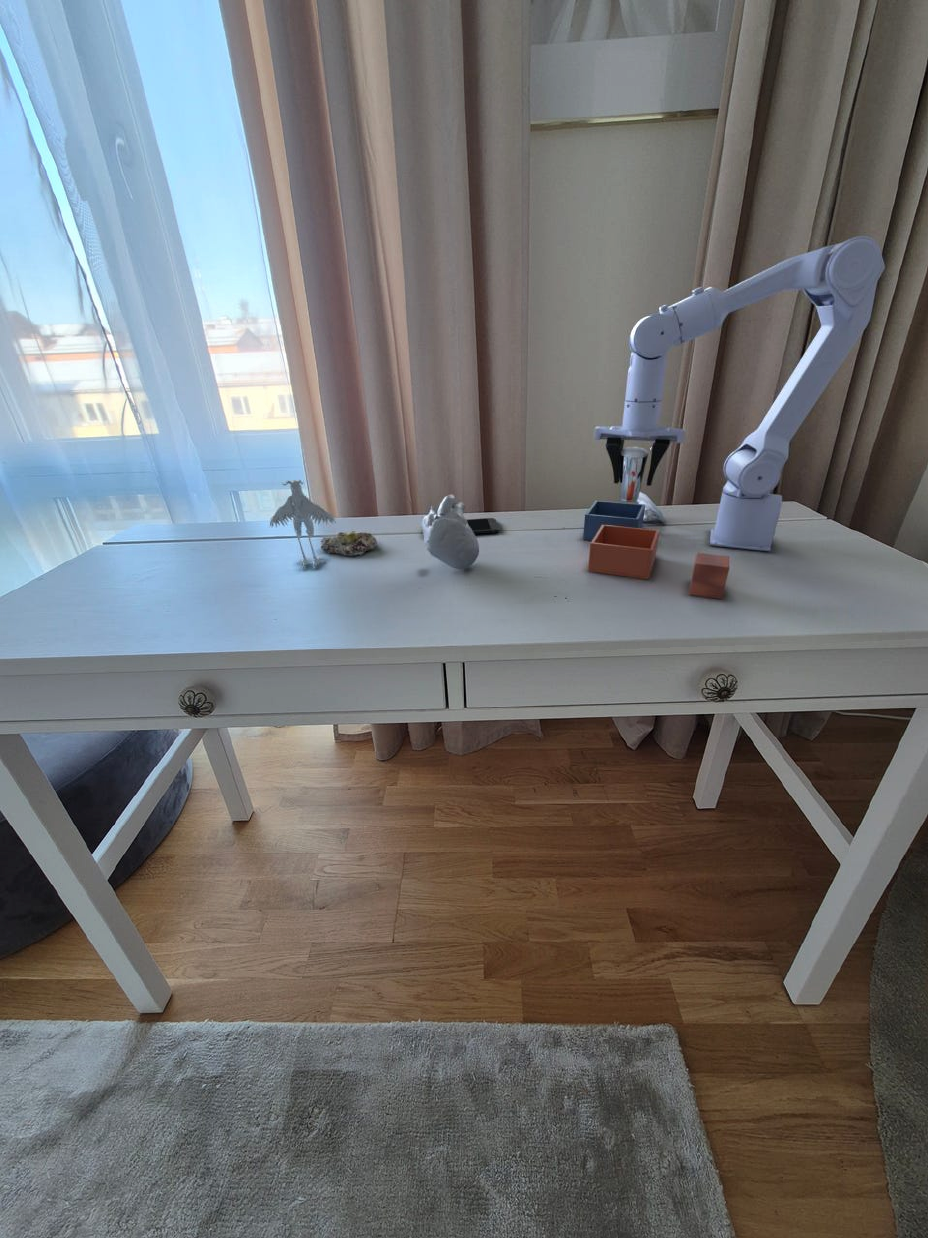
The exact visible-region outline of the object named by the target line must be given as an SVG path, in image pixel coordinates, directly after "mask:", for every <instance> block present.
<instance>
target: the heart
mask: <svg viewBox="0 0 928 1238" xmlns="http://www.w3.org/2000/svg"><path fill="white" fill-rule="evenodd" d="M465 508H466V505H465V504H464V502H463V501H459V502H457V500H456V497H455V495H454V494H453V493H451V494H448V495H447V496H444V498H443V500H442V501H441V502H440V504H439V506H438V507H435V506H432V505H431V506H430V511H429V513H428V514H427V515H425V516H424V517H423V519H422V522H421V530H422V534H423V542H424V545H425V548H426V550H427V551H428V553H429V554H430V555H431V556H432V557H434V558H435V559H437V560H439V561H441V562H443V563H445V564H446V565H448V566H449V567H450V568H452V569H456V570H467V569H469V568H470V567H471V566H472V565H473V564H474V563H475V562H476V561H477V559H478V558H479V554H480V544H479V541H478V539H477V536H476V534H474V533H473V531H472V529H471V528H470V526H469V525H468V522H467V518H465V516H464V510H465Z"/></svg>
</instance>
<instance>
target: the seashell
mask: <svg viewBox="0 0 928 1238" xmlns="http://www.w3.org/2000/svg"><path fill="white" fill-rule="evenodd" d="M636 502H637V504H645V511H644V519H643V523H646V522H647V521H650V520H651V519H652V518H654V519H656V520H658V521H661V522H662V523H666V520H665V517H664V515H663V512H662V511H660V509H659V508H658V506H657V505H656V504H655V503H654V502H653V501H652V500H651V499H650V498H649V496H648V495H647V494H645V493H643V492H641V491H640V493H639V497H638V500H637V501H636Z"/></svg>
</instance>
